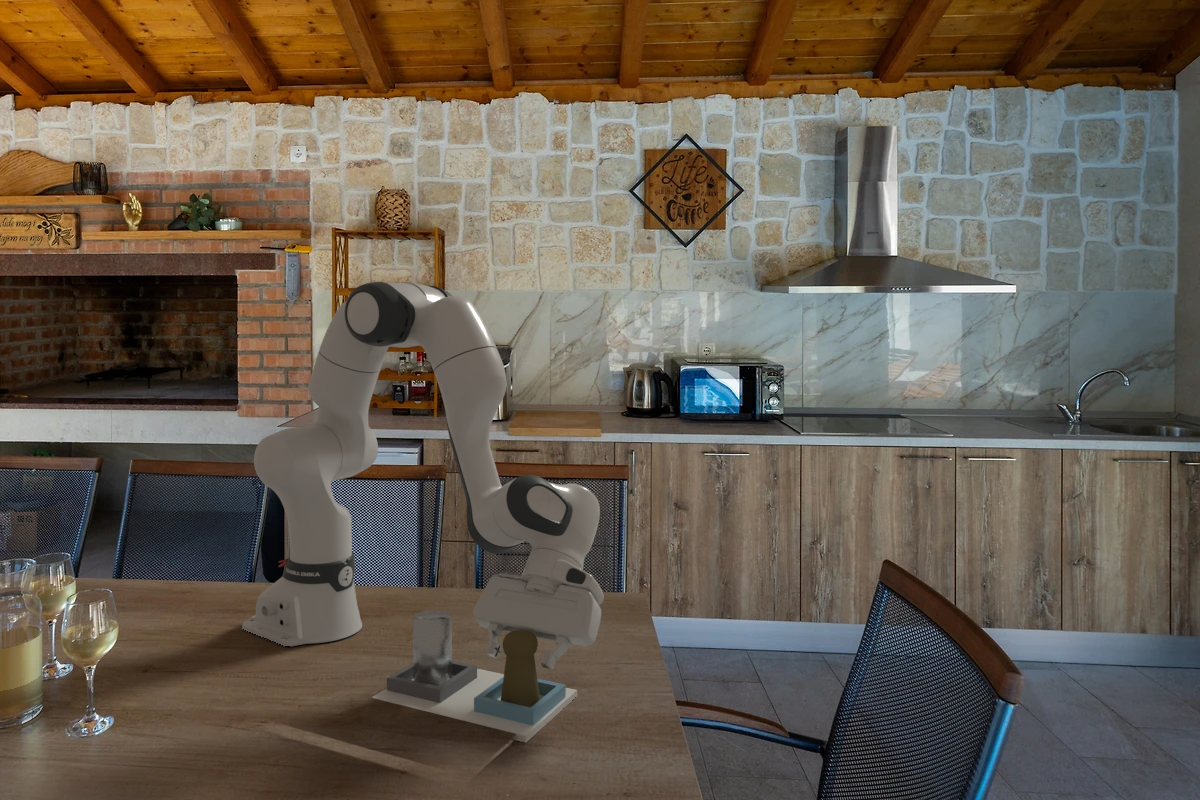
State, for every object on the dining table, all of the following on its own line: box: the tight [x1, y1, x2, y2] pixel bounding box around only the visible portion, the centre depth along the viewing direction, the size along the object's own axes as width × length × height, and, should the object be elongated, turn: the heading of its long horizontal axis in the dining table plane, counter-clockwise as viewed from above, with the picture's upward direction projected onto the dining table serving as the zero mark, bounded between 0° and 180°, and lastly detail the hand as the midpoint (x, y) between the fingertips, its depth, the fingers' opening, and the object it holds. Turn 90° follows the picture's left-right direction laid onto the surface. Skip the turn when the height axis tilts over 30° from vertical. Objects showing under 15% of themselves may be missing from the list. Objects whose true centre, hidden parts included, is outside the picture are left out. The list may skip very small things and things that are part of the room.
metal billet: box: [412, 609, 453, 686], centre depth 130 cm, size 6×6×11 cm
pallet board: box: [371, 659, 578, 743], centre depth 127 cm, size 27×16×3 cm, turn 65°
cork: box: [501, 630, 540, 708], centre depth 124 cm, size 6×6×11 cm
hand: (518, 661), depth 123 cm, fingers open, 8 cm apart
